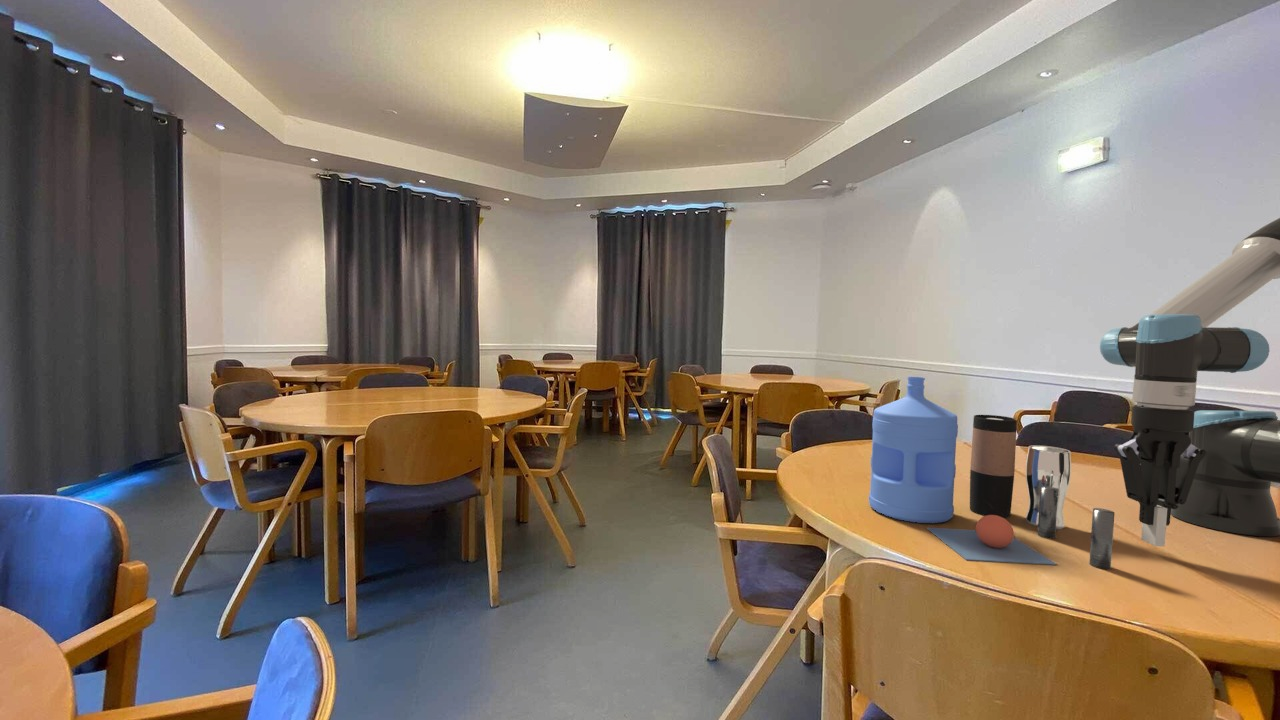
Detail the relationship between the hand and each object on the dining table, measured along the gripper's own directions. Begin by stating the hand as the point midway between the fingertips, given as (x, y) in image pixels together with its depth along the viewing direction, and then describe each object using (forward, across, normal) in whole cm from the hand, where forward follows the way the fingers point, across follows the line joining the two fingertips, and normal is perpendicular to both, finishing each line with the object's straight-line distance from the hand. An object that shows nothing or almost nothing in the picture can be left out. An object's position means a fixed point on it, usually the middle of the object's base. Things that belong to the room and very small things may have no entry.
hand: (1152, 542), depth 90 cm
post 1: (+2, -13, +6) cm, 15 cm away
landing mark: (+2, -27, 0) cm, 27 cm away
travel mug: (+2, -16, +19) cm, 25 cm away
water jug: (+2, -33, +17) cm, 37 cm away
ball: (-1, -26, 0) cm, 26 cm away
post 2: (+2, -13, -6) cm, 15 cm away
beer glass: (+2, -9, +13) cm, 16 cm away
